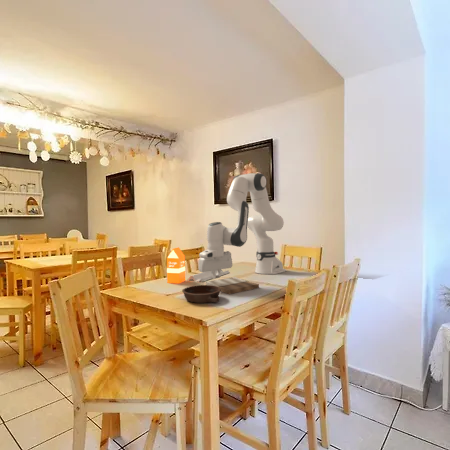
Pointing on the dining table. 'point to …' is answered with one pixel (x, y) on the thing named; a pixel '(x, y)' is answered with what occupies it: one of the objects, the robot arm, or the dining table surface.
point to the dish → (202, 293)
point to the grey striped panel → (225, 281)
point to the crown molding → (205, 276)
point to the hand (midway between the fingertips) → (216, 278)
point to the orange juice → (176, 266)
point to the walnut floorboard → (238, 287)
